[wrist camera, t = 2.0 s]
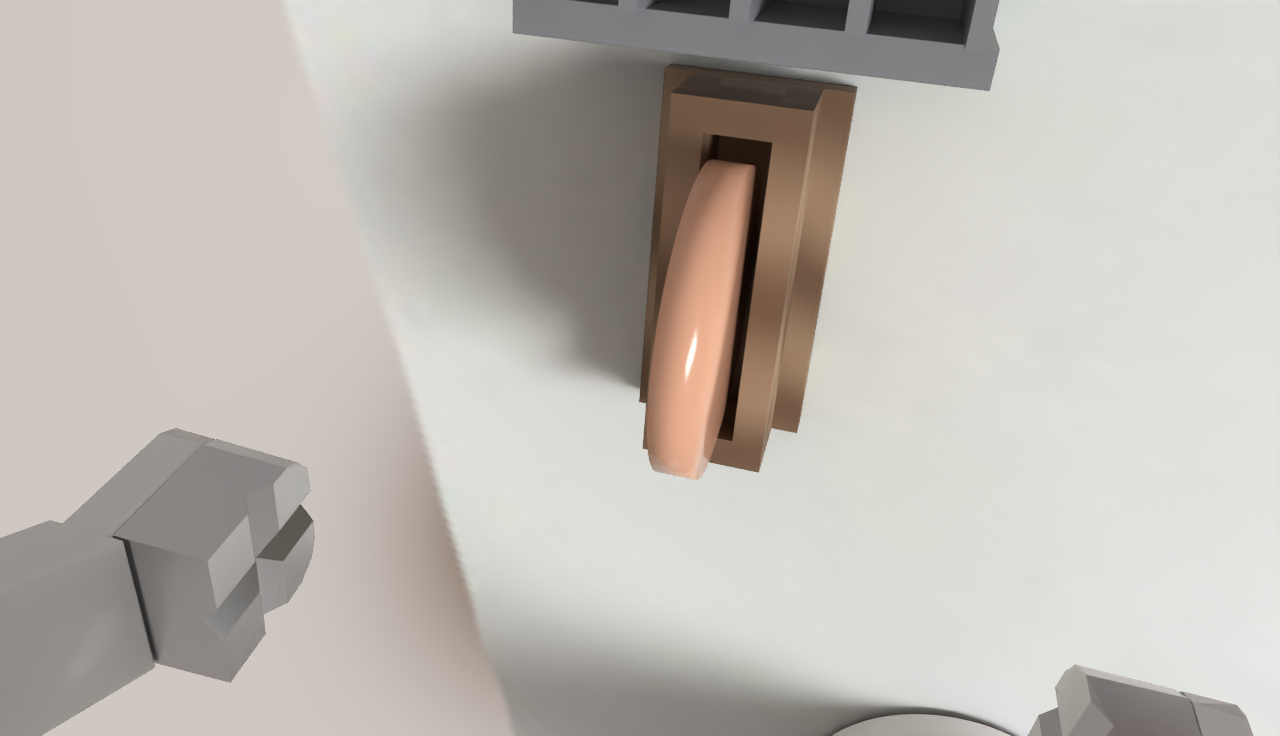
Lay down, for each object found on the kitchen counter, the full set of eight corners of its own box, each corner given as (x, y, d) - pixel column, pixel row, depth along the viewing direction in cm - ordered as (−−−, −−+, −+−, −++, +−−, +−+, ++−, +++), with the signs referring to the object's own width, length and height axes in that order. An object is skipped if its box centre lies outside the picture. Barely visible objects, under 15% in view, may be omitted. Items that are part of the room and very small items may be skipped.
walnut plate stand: (799, 421, 42) (785, 478, 38) (645, 391, 43) (616, 443, 40) (857, 87, 35) (847, 115, 31) (671, 64, 36) (640, 88, 33)
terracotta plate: (736, 386, 41) (677, 544, 32) (704, 380, 41) (636, 535, 32) (771, 129, 36) (712, 228, 26) (733, 124, 36) (662, 220, 26)
